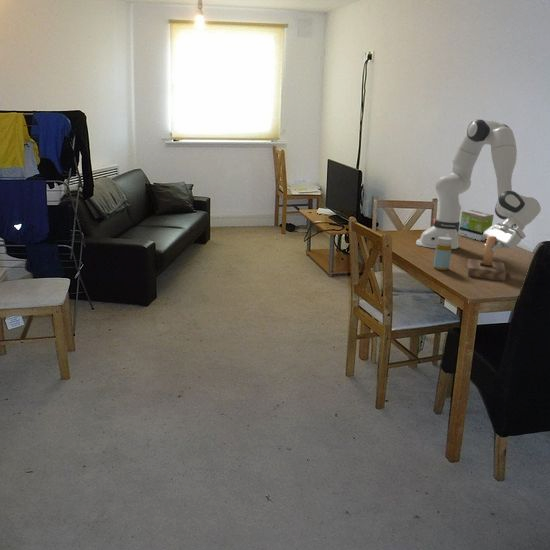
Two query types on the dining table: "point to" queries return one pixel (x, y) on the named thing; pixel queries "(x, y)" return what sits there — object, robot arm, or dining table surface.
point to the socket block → (486, 269)
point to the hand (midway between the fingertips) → (488, 248)
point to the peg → (489, 250)
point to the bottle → (442, 253)
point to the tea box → (475, 224)
